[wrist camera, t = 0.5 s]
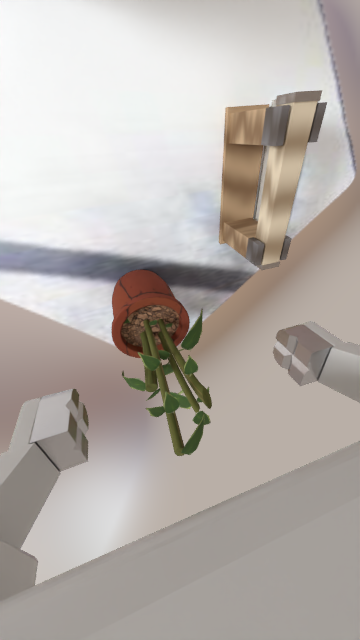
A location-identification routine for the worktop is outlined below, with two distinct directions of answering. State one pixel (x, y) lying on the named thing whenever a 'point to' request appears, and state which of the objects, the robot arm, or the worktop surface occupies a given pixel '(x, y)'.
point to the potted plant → (159, 347)
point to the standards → (251, 171)
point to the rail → (284, 174)
